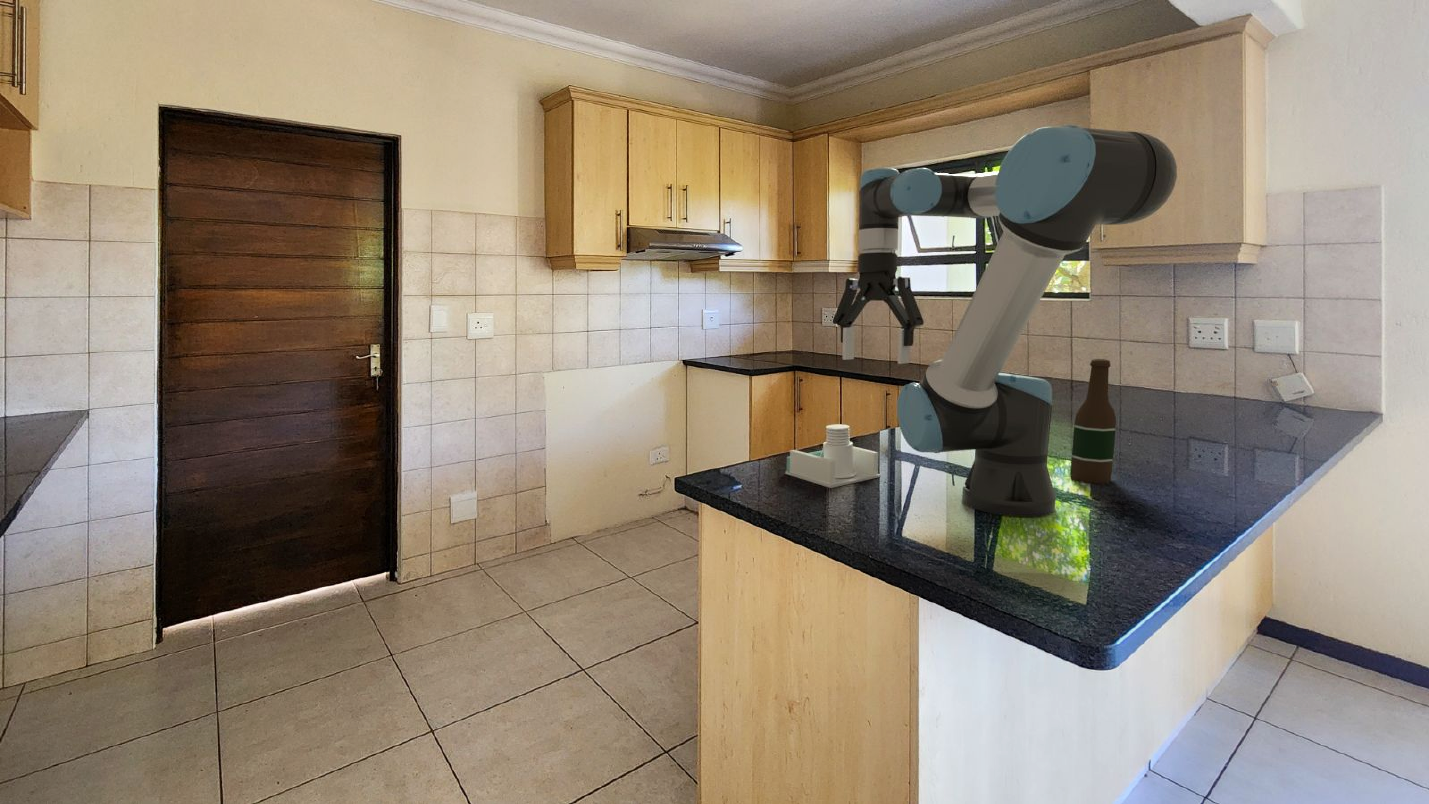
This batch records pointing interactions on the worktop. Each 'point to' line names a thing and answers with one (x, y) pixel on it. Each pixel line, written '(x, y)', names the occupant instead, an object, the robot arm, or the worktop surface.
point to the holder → (831, 467)
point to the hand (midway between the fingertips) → (874, 361)
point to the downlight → (840, 450)
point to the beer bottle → (1094, 430)
